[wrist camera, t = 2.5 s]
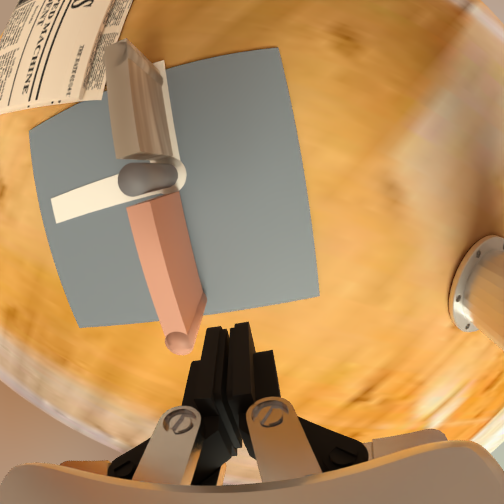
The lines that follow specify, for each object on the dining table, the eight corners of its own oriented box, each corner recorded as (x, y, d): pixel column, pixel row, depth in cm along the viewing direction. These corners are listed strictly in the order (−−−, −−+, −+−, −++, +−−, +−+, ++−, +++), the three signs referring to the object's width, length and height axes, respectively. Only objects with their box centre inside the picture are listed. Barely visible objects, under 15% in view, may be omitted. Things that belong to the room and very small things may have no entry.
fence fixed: (162, 70, 19) (129, 37, 12) (175, 155, 22) (143, 150, 14) (140, 77, 19) (101, 48, 12) (153, 161, 22) (113, 160, 14)
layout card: (275, 39, 19) (276, 37, 18) (318, 294, 25) (319, 296, 25) (30, 122, 20) (27, 122, 20) (80, 326, 27) (79, 328, 26)
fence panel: (152, 167, 21) (114, 167, 15) (175, 160, 21) (144, 158, 14) (188, 310, 25) (170, 356, 18) (209, 307, 25) (197, 354, 18)
